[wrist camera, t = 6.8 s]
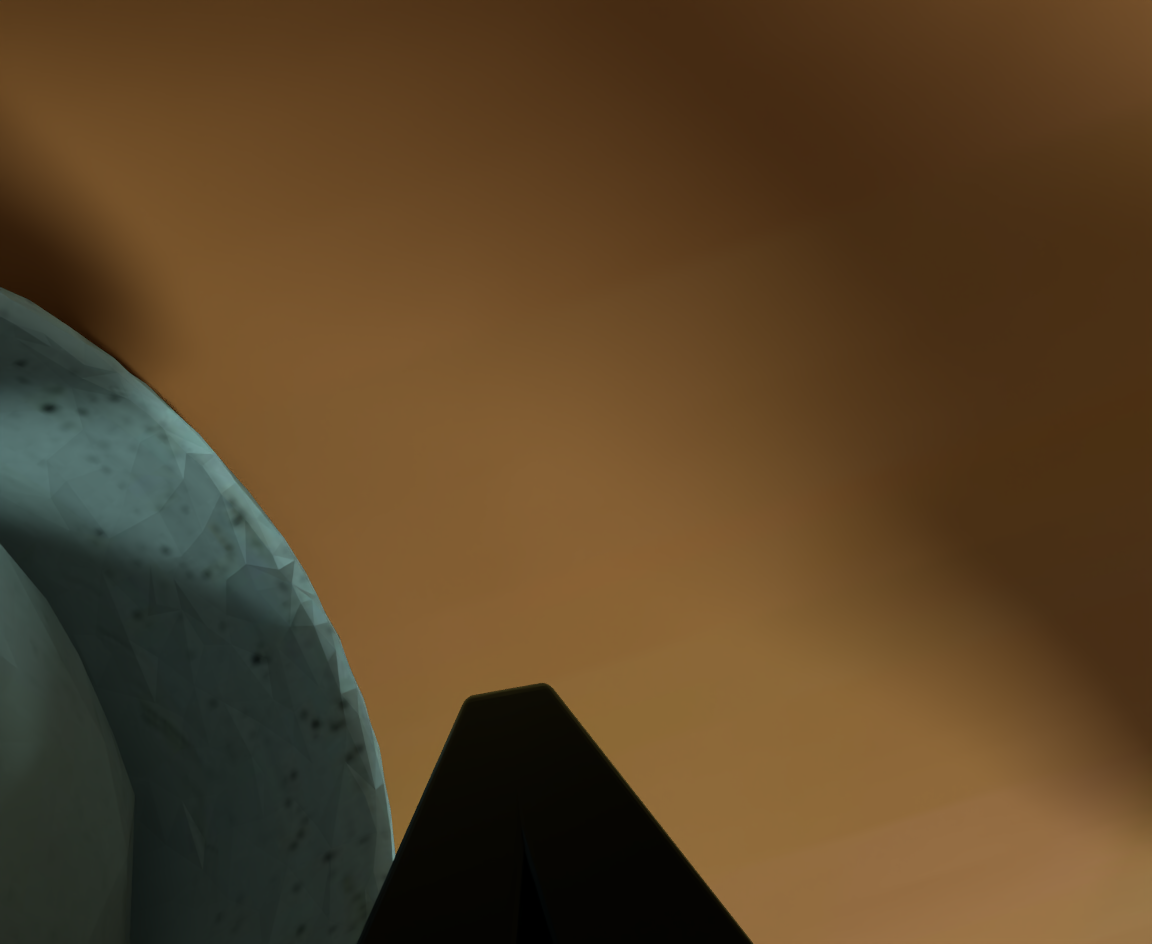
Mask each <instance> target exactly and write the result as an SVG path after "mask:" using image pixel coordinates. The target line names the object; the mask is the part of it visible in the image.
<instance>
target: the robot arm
mask: <svg viewBox="0 0 1152 944" xmlns="http://www.w3.org/2000/svg"><path fill="white" fill-rule="evenodd" d="M357 944H753V943H752V941H751V940H750V939H749V937H748V936H747V935H746V934H745V932H744V931H743V930H742V929H741V927H740V926H739V925H738V923H737V922H736V921H735V920H734V918H733V917H732V916H731V915H730V913H729V912H728V911H727V909H726V908H725V907H724V906H723V904H722V903H721V902H720V901H719V899H718V898H717V897H716V895H715V894H714V893H713V892H712V890H711V889H710V888H709V886H708V885H707V884H706V883H705V881H704V880H703V879H702V878H701V876H700V875H699V874H698V872H697V871H696V870H695V869H694V867H693V866H692V865H691V864H690V862H689V861H688V860H687V858H686V857H685V856H684V855H683V853H682V852H681V851H680V850H679V848H678V847H677V846H676V844H675V843H674V842H673V841H672V839H671V838H670V837H669V836H668V834H667V833H666V832H665V830H664V829H663V828H662V827H661V825H660V824H659V823H658V822H657V820H656V819H655V818H654V816H653V815H652V814H651V813H650V811H649V810H648V809H647V808H646V806H645V805H644V804H643V802H642V801H641V800H640V799H639V797H638V796H637V795H636V793H635V792H634V791H633V790H632V788H631V787H630V786H629V785H628V783H627V782H626V781H625V779H624V778H623V777H622V776H621V774H620V773H619V772H618V771H617V769H616V768H615V767H614V765H613V764H612V763H611V762H610V760H609V759H608V758H607V757H606V755H605V754H604V753H603V751H602V750H601V749H600V748H599V746H598V745H597V744H596V743H595V741H594V740H593V739H592V737H591V736H590V735H589V734H588V732H587V731H586V730H585V729H584V727H583V726H582V725H581V723H580V722H579V721H578V720H577V718H576V717H575V716H574V714H573V713H572V712H571V711H570V709H569V708H568V707H567V706H566V704H565V703H564V702H563V700H562V699H561V698H560V697H559V695H558V694H557V693H556V692H555V690H554V689H553V688H552V687H551V686H549V685H548V684H545V683H539V684H533V685H527V686H522V687H516V688H511V689H505V690H499V691H494V692H488V693H483V694H477V695H472V696H470V697H468V698H467V699H466V700H465V701H464V703H463V705H462V707H461V709H460V711H459V714H458V716H457V718H456V720H455V723H454V725H453V727H452V729H451V732H450V734H449V736H448V738H447V741H446V743H445V745H444V747H443V750H442V752H441V754H440V756H439V759H438V761H437V763H436V765H435V768H434V770H433V772H432V774H431V777H430V779H429V781H428V783H427V786H426V788H425V790H424V793H423V795H422V797H421V799H420V802H419V804H418V806H417V808H416V811H415V813H414V815H413V817H412V820H411V822H410V824H409V826H408V829H407V831H406V833H405V835H404V838H403V840H402V842H401V844H400V847H399V849H398V851H397V853H396V856H395V858H394V860H393V862H392V865H391V867H390V869H389V871H388V874H387V876H386V878H385V881H384V883H383V885H382V887H381V890H380V892H379V894H378V896H377V899H376V901H375V903H374V905H373V908H372V910H371V912H370V914H369V917H368V919H367V921H366V923H365V926H364V928H363V930H362V932H361V935H360V937H359V939H358V941H357Z"/></svg>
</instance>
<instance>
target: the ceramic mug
mask: <svg viewBox="0 0 1152 944" xmlns="http://www.w3.org/2000/svg"><path fill="white" fill-rule="evenodd" d="M394 858H395V848H394V838H393V828H392V819H391V809H390V805H389V800H388V795H387V790H386V785H385V780H384V773H383V767H382V761H381V754H380V748H379V745H378V742H377V739H376V737H375V734H374V731H373V729H372V726H371V723H370V720H369V716H368V712H367V708H366V705H365V701H364V698H363V696H362V694H361V691H360V689H359V687H358V685H357V683H356V680H355V678H354V676H353V674H352V671H351V669H350V667H349V664H348V662H347V659H346V656H345V653H344V650H343V647H342V644H341V641H340V638H339V636H338V634H337V632H336V630H335V629H334V627H333V625H332V624H331V622H330V620H329V618H328V617H327V615H326V613H325V611H324V610H323V607H322V605H321V603H320V600H319V598H318V596H317V594H316V592H315V590H314V588H313V586H312V584H311V582H310V580H309V578H308V576H307V574H306V572H305V570H304V569H303V567H302V566H301V564H300V563H299V561H298V559H297V558H296V556H295V555H294V553H293V552H292V550H291V548H290V547H289V545H288V544H287V542H286V540H285V539H284V537H283V536H282V535H281V533H280V532H279V531H278V530H277V528H276V527H275V526H274V524H273V523H272V522H271V520H270V519H269V518H268V516H267V515H266V514H265V512H264V511H263V510H262V508H261V507H260V506H259V505H258V503H257V502H256V501H255V499H254V498H253V497H252V495H251V494H250V493H249V491H248V490H247V489H246V488H245V487H244V486H243V484H242V483H241V482H240V481H239V480H238V479H237V478H236V477H235V475H234V474H233V473H232V472H231V471H230V470H229V469H228V468H227V466H226V465H225V464H224V463H223V462H222V461H221V459H220V458H219V457H218V456H217V455H216V453H215V452H214V451H213V450H212V449H211V448H210V446H209V445H208V444H207V443H206V442H205V440H204V439H203V438H202V437H201V436H200V434H199V433H197V432H196V431H195V430H194V429H193V428H192V427H191V426H190V425H188V424H187V423H186V422H185V421H184V420H183V419H182V418H181V417H180V416H179V415H178V414H177V413H176V412H175V411H174V410H173V409H172V408H171V407H170V406H169V405H168V404H167V403H166V402H164V401H163V400H162V399H161V398H160V397H159V396H158V395H157V394H156V393H155V392H154V391H153V390H152V389H151V388H150V387H149V386H148V385H147V384H146V383H144V382H143V381H141V380H140V379H138V378H137V377H135V376H134V375H132V374H131V373H129V372H128V371H127V370H126V369H125V368H124V367H123V366H122V365H121V364H120V363H119V362H118V361H117V360H116V359H115V358H113V357H112V356H110V355H109V354H107V353H106V352H105V351H103V350H102V349H100V348H99V347H97V346H96V345H94V344H93V343H92V342H90V341H89V340H87V339H86V338H85V337H83V336H82V335H80V334H79V333H78V332H76V331H75V330H73V329H72V328H71V327H69V326H68V325H66V324H65V323H63V322H62V321H60V320H59V319H57V318H56V317H54V316H53V315H51V314H50V313H48V312H47V311H45V310H44V309H42V308H41V307H39V306H38V305H36V304H35V303H33V302H32V301H30V300H29V299H26V298H24V297H22V296H19V295H17V294H15V293H13V292H10V291H8V290H6V289H4V288H1V287H0V944H357V941H358V939H359V937H360V935H361V932H362V930H363V928H364V926H365V923H366V921H367V919H368V917H369V914H370V912H371V910H372V908H373V905H374V903H375V901H376V899H377V896H378V894H379V892H380V890H381V887H382V885H383V883H384V881H385V878H386V876H387V874H388V871H389V869H390V867H391V865H392V862H393V860H394Z"/></svg>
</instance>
